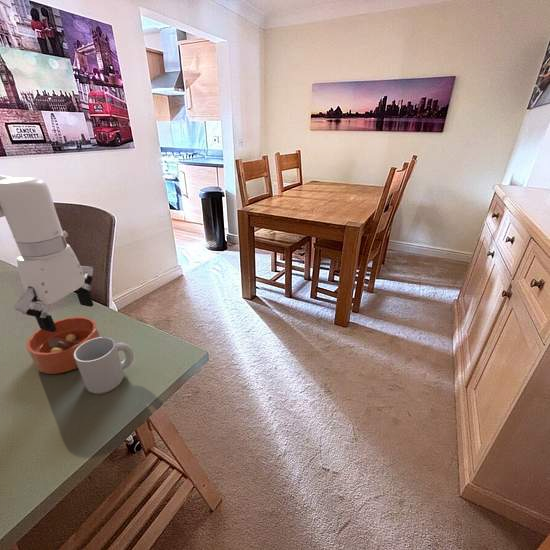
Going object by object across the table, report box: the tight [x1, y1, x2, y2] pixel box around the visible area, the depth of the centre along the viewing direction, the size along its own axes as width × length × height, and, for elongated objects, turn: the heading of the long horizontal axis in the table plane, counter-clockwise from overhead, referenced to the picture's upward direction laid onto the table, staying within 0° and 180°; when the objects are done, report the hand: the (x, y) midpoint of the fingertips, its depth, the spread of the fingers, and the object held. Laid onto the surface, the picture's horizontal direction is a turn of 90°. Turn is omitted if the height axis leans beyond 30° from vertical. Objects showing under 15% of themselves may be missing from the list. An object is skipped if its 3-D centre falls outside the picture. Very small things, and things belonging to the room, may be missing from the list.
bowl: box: [25, 316, 101, 375], centre depth 69 cm, size 13×13×6 cm
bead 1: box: [50, 347, 62, 353], centre depth 69 cm, size 2×2×2 cm
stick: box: [49, 337, 80, 349], centre depth 64 cm, size 3×3×14 cm
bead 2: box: [65, 334, 76, 342], centre depth 73 cm, size 2×2×2 cm
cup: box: [74, 336, 134, 395], centre depth 62 cm, size 7×10×9 cm
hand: (69, 317), depth 66 cm, fingers open, 9 cm apart
